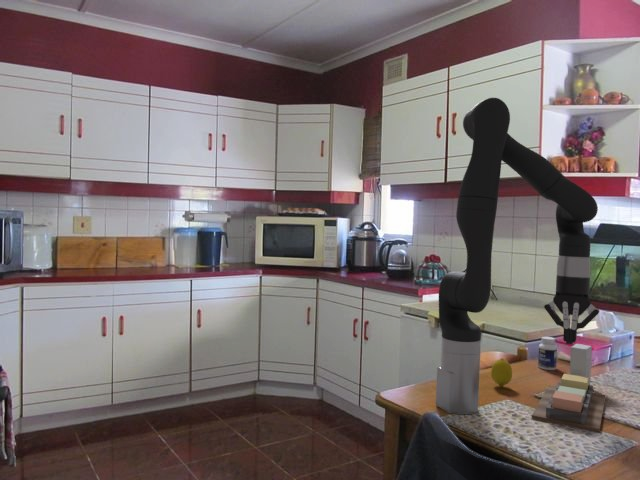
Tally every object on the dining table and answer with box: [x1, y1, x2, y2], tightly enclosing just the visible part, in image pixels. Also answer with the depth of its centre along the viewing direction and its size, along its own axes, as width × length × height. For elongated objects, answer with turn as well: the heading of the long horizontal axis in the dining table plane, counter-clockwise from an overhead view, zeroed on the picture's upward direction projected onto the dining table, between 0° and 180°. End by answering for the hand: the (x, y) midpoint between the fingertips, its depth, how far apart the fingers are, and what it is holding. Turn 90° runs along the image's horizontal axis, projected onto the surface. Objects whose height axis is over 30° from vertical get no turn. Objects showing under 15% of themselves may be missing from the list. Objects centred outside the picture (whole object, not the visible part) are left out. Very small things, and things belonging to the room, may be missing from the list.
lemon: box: [490, 357, 513, 388], centre depth 148 cm, size 6×6×8 cm
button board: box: [531, 379, 606, 433], centre depth 132 cm, size 28×14×3 cm, turn 149°
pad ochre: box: [560, 373, 589, 392], centre depth 140 cm, size 6×6×3 cm
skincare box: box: [569, 343, 593, 385], centre depth 148 cm, size 6×4×12 cm
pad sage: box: [558, 386, 586, 402], centre depth 132 cm, size 6×6×3 cm
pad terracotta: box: [552, 391, 583, 413], centre depth 124 cm, size 6×6×3 cm
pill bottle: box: [537, 336, 558, 371], centre depth 169 cm, size 5×5×10 cm
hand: (569, 343), depth 132 cm, fingers closed
